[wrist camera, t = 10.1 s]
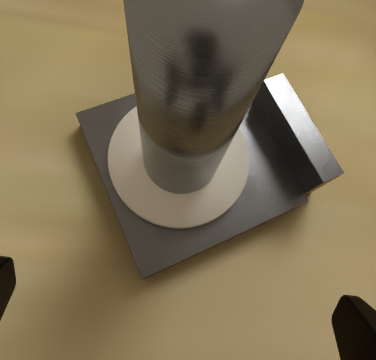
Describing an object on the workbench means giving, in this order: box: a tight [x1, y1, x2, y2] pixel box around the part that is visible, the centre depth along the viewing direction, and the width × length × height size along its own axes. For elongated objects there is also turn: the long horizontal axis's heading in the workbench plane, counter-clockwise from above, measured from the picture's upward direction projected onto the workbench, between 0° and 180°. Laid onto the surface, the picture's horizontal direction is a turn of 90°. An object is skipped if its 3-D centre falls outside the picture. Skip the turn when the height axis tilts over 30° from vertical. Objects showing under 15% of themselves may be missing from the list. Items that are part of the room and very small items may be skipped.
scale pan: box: [108, 106, 249, 229], centre depth 19 cm, size 8×8×1 cm
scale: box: [76, 73, 344, 279], centre depth 20 cm, size 11×13×4 cm
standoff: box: [123, 0, 304, 194], centre depth 13 cm, size 4×4×12 cm
